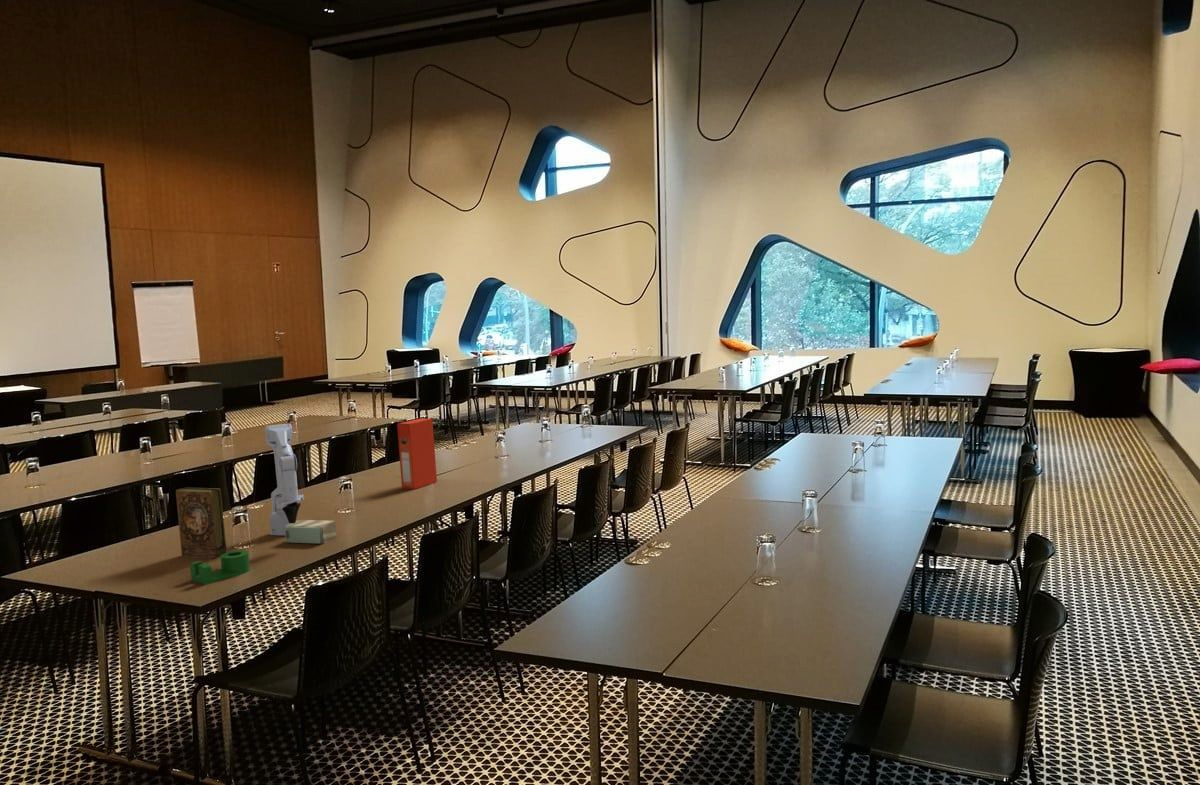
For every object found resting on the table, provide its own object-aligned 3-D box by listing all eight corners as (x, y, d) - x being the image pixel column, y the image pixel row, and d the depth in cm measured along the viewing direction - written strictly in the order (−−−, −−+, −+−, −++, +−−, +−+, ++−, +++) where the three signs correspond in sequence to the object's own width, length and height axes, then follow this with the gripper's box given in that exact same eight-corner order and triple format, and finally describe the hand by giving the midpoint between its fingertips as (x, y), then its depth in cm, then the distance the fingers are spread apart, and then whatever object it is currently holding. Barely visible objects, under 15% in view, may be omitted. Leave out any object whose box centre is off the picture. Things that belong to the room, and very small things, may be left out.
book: (179, 557, 328) (172, 490, 325) (190, 552, 333) (183, 487, 330) (216, 558, 323) (210, 491, 320) (227, 554, 328) (220, 488, 325)
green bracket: (241, 566, 313) (239, 548, 312) (255, 570, 307) (253, 552, 307) (191, 580, 299) (189, 562, 298) (204, 585, 293) (203, 566, 293)
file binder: (401, 488, 430) (397, 423, 426) (424, 481, 445) (420, 418, 442) (414, 489, 426) (410, 424, 423) (436, 482, 442) (432, 418, 438)
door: (284, 542, 339) (282, 527, 339) (287, 541, 341) (286, 526, 341) (320, 544, 335) (318, 528, 334) (323, 542, 337) (321, 527, 336)
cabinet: (287, 542, 342) (285, 525, 341) (300, 535, 350) (299, 519, 349) (323, 543, 337) (322, 526, 337) (336, 537, 346) (335, 520, 345)
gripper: (287, 492, 324) (290, 528, 325) (309, 483, 338) (312, 518, 339) (270, 491, 326) (273, 527, 327) (293, 483, 340) (296, 517, 341)
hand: (292, 522), depth 333 cm, fingers closed
